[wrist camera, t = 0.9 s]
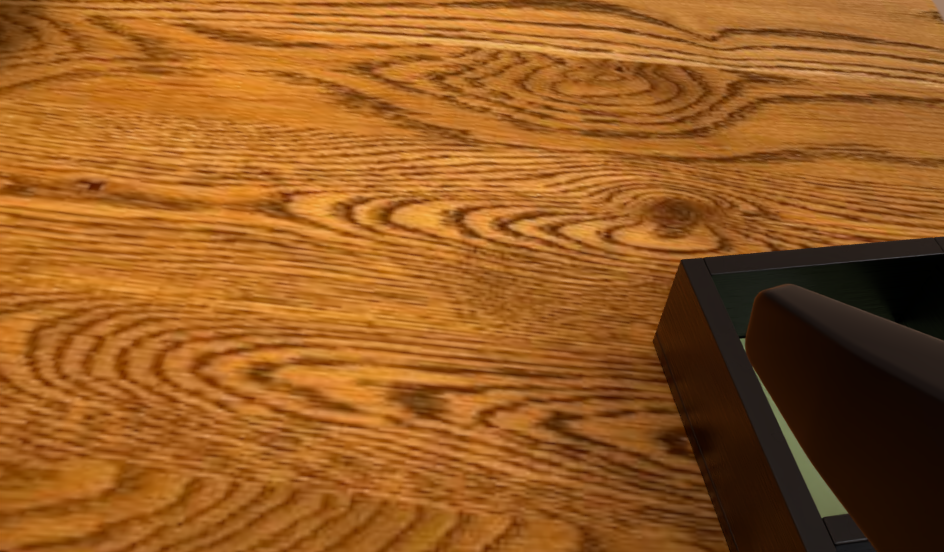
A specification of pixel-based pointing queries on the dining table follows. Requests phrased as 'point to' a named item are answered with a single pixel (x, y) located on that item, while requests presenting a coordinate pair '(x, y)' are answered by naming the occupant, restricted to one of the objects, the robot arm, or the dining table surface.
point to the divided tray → (745, 397)
